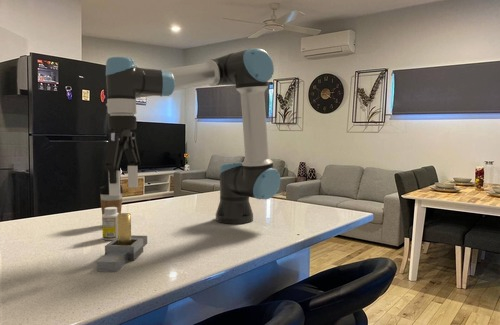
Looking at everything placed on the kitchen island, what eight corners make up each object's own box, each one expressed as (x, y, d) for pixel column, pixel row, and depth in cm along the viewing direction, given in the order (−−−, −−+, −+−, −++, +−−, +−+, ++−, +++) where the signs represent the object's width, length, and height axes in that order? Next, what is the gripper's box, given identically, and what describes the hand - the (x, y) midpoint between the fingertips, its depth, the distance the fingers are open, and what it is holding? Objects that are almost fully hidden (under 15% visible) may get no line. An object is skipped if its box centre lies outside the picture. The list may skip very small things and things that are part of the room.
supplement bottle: (114, 235, 130) (114, 205, 129) (123, 238, 126) (123, 207, 126) (99, 238, 126) (98, 208, 125) (108, 241, 122) (107, 210, 121)
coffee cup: (116, 228, 138) (115, 187, 137) (95, 227, 140) (94, 187, 139) (127, 223, 147) (127, 184, 145) (108, 222, 148) (107, 183, 147)
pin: (133, 254, 110) (132, 213, 109) (128, 258, 107) (128, 215, 106) (121, 253, 110) (120, 212, 109) (116, 257, 107) (115, 215, 106)
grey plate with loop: (127, 243, 121) (126, 230, 121) (151, 243, 121) (151, 231, 120) (91, 271, 97) (90, 255, 96) (122, 271, 96) (121, 256, 96)
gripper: (125, 116, 118) (127, 184, 120) (87, 113, 93) (91, 199, 95) (149, 116, 118) (151, 184, 120) (117, 113, 93) (120, 199, 95)
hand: (124, 191), depth 107 cm, fingers open, 13 cm apart
